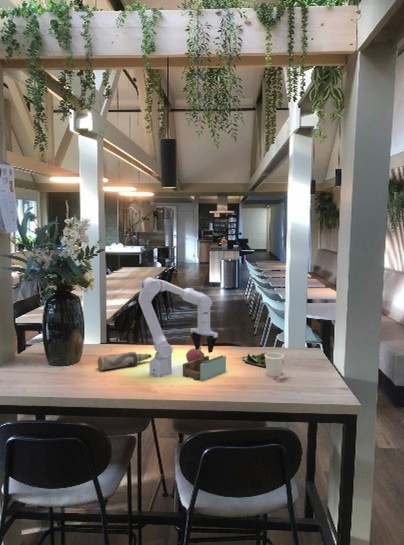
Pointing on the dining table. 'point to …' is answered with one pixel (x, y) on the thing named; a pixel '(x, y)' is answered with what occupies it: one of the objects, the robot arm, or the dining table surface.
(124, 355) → the decorative bottle
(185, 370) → the cart bed
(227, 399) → the dining table surface
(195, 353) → the cupcake
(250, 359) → the salad plate
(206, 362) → the panel
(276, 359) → the dixie cup
